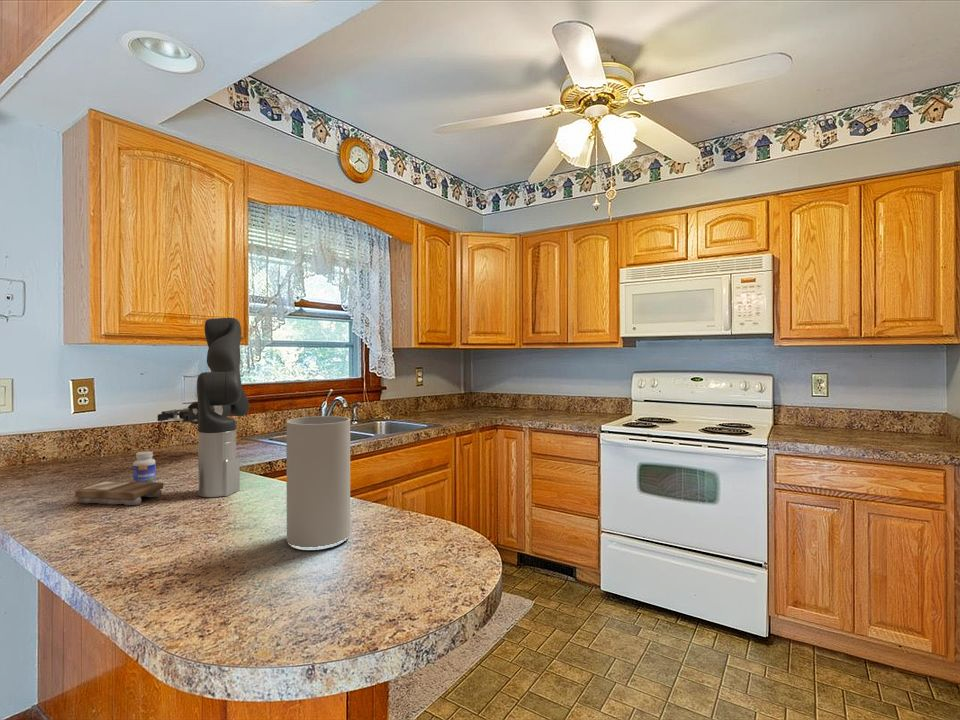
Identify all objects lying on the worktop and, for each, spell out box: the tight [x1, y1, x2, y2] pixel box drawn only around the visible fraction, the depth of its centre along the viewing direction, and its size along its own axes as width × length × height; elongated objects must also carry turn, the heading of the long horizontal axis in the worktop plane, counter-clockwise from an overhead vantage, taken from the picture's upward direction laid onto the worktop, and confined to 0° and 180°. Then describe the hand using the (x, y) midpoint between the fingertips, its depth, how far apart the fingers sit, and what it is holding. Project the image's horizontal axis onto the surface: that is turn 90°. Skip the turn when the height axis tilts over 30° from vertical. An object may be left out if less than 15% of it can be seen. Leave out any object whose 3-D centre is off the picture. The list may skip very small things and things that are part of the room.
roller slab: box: [74, 480, 164, 506], centre depth 131 cm, size 16×10×4 cm, turn 84°
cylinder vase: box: [285, 415, 351, 547], centre depth 104 cm, size 12×12×25 cm
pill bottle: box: [132, 451, 156, 482], centre depth 145 cm, size 5×5×10 cm
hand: (171, 418), depth 155 cm, fingers open, 8 cm apart
